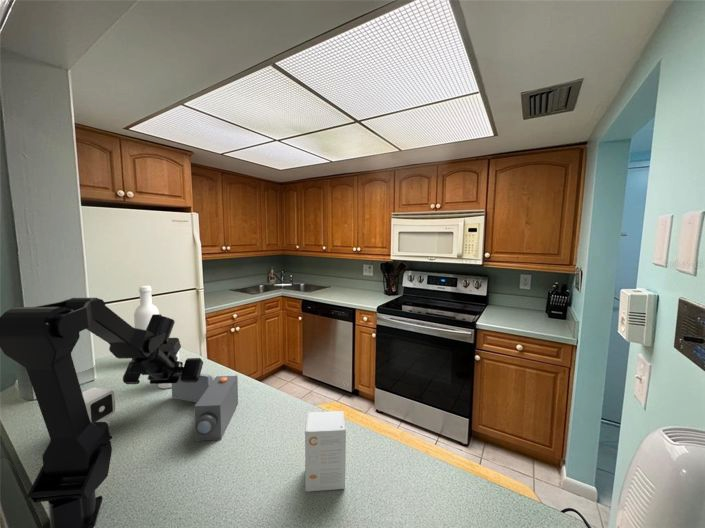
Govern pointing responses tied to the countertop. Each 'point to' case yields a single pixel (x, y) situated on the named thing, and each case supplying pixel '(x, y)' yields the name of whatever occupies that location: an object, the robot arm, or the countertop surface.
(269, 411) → the countertop surface
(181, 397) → the side door
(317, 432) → the small box
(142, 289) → the bottle
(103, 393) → the security camera
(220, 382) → the camera body
